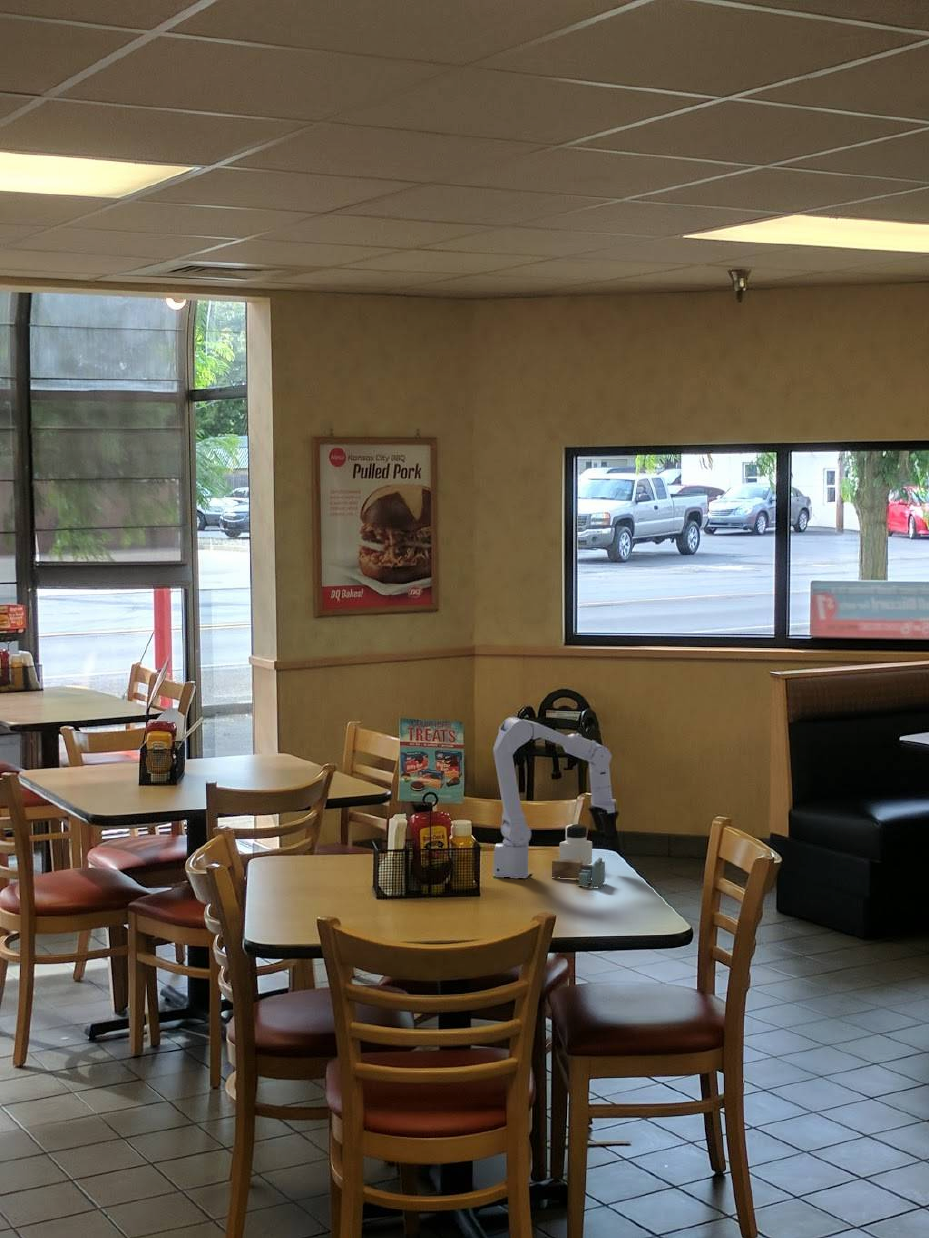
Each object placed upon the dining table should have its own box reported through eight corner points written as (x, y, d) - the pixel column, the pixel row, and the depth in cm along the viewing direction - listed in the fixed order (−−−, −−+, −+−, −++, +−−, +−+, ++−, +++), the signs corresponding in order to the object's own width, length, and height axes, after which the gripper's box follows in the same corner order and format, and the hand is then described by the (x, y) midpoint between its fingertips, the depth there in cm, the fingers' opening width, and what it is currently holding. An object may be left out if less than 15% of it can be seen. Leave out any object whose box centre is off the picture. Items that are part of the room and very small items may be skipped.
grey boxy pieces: (578, 887, 394) (578, 861, 394) (582, 881, 400) (582, 856, 400) (600, 888, 392) (601, 863, 392) (604, 883, 399) (605, 858, 398)
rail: (551, 878, 404) (552, 860, 404) (553, 876, 407) (554, 858, 406) (592, 881, 401) (593, 863, 401) (594, 879, 404) (594, 861, 404)
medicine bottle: (592, 865, 421) (592, 824, 420) (580, 870, 415) (581, 828, 414) (570, 862, 425) (571, 821, 424) (558, 866, 419) (559, 825, 418)
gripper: (623, 788, 406) (627, 836, 407) (605, 780, 420) (609, 826, 421) (599, 792, 404) (603, 840, 406) (582, 783, 419) (586, 829, 420)
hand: (605, 833), depth 413 cm, fingers open, 7 cm apart
